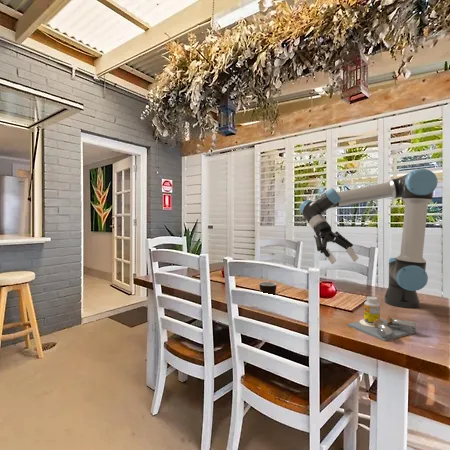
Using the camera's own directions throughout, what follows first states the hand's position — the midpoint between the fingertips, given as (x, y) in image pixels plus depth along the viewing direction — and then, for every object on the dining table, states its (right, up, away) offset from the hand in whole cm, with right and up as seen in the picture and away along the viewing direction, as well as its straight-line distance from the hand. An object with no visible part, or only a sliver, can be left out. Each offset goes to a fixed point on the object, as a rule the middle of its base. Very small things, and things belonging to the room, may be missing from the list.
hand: (345, 261), depth 129 cm
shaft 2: (+14, -25, -17) cm, 33 cm away
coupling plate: (+7, -25, -15) cm, 30 cm away
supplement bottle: (+6, -24, -11) cm, 27 cm away
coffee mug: (-31, -24, +20) cm, 44 cm away
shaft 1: (+5, -25, -22) cm, 33 cm away
